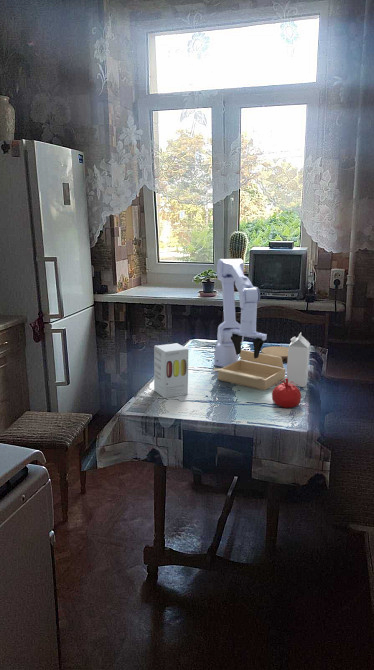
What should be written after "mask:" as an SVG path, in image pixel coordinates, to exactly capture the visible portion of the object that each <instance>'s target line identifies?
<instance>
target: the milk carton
mask: <svg viewBox="0 0 374 670" xmlns="http://www.w3.org/2000/svg"><path fill="white" fill-rule="evenodd" d="M310 347H311V343H310V342H309V340H308V339H306V338H305V337H304V336H303V335H302V332H300V333H299V334H298V336H297V337H296V336H293V337H292V338H290V343H289V345H288V361H287V362H286V363H287V364H286V378H288V383H290V382H291V381H292V382H291V383H290V384H293V385H295V386H296V387H302V388H306V387H307V384H308V379H309V366H310V365H309V364H310V349H311V348H310ZM293 382H294V383H293ZM297 384H298V385H297Z"/></svg>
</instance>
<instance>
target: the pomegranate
mask: <svg viewBox="0 0 374 670" xmlns="http://www.w3.org/2000/svg"><path fill="white" fill-rule="evenodd" d="M280 382H283V383H280ZM280 382H279V383H277V384H275V385H277V386H275V385H274V386H275V387H274V388H273V389H272V392H271V398H272V402H273V403H274V404H275V405H277V406H278V407H281V408H284V409H285V408H286V409H289V408H295V407H297V406H299V405H300V403H301V401H302V392H301V391H300V389H299V388H298V386H295V385H293V384H290V383H291V382H292V381H291V382H290V383H288V378H287V377H285V379H284V380H281V381H280ZM293 383H294V382H293ZM297 385H298V384H297Z"/></svg>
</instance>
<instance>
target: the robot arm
mask: <svg viewBox="0 0 374 670" xmlns="http://www.w3.org/2000/svg"><path fill="white" fill-rule="evenodd" d="M216 263H217V264H216V276H217V280H218V281H220V283H221V289H222V303H223V304H222V307H223V322H221V323H220V324H219V325H218V327H217V335H216V338H217V342H218V343H217V344H216V345H215V349H214V363H213V366H216V367H221V368H223V367H225V366H228V365H230V364H232V363H234V362H236V361H239V356H240V353H241V350H242V343H243V342H244V337H245V338H251V339H253V340H252V343H253V352H254V358H258V356H259V353H261V350H262V347H263V345H264V343H265V342H266V340H267V339H268V338H267V337H268V336H267V335H268V334H267V333H262V332H260V331H259V332H258V331H257V313H258V310H257V309H258V304H259V302H260V300H261V291H260V288H259V286H258V287H257V286H254V285H253V283H252V282H251V280H250V279H249V277H248V276H246V275H245V273H244V269H245V265H244V260H243V259H242V258H219V259H218V260H217V262H216ZM235 288H236V290H237V292H238V299H239V307H240V323H239V322H238V321H237V319H236V304H235V303H236V302H235Z"/></svg>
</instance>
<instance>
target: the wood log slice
mask: <svg viewBox="0 0 374 670" xmlns="http://www.w3.org/2000/svg"><path fill="white" fill-rule="evenodd" d="M260 353H262V354H268V355H273V356H278V357H281V358H282V362H283V363H287V361H288V347H286V346H279V345H278V346H277V345H275V346H274V345H273V346H266V347H263V348H261V350H260Z"/></svg>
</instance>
